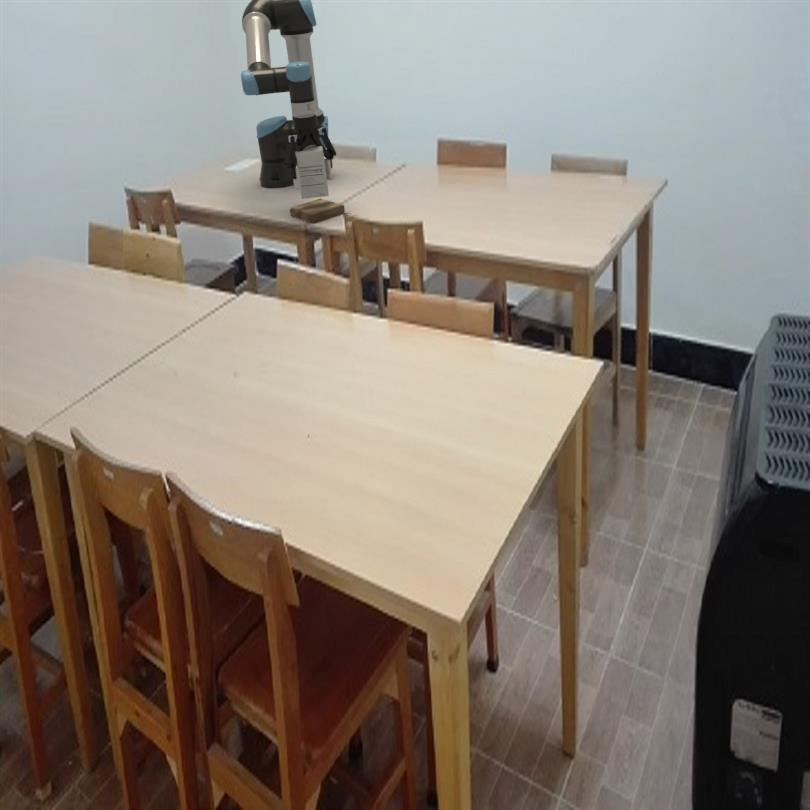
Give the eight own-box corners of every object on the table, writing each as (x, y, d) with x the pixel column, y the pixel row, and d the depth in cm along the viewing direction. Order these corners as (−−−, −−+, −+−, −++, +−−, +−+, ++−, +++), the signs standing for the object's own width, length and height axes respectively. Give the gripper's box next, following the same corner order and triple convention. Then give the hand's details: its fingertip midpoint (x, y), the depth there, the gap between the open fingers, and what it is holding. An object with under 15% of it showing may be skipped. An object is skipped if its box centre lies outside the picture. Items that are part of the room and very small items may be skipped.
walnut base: (290, 216, 273) (289, 207, 272) (321, 206, 280) (320, 197, 279) (313, 223, 264) (312, 214, 263) (345, 213, 272) (343, 204, 270)
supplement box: (301, 191, 272) (295, 146, 265) (328, 189, 273) (322, 143, 265) (301, 199, 265) (294, 152, 257) (328, 196, 265) (322, 149, 257)
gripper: (279, 124, 247) (289, 194, 258) (342, 109, 260) (349, 176, 271) (265, 121, 252) (276, 190, 263) (328, 107, 265) (336, 173, 276)
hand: (313, 183), depth 267 cm, fingers closed on supplement box, 12 cm apart
